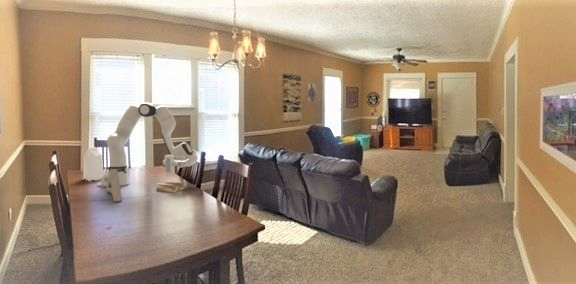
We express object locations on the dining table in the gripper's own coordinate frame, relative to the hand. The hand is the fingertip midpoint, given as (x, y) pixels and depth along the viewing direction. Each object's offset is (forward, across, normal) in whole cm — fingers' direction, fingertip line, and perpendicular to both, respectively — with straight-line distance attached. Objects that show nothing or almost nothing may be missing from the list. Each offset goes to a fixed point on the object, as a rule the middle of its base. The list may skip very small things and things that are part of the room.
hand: (168, 164), depth 286 cm
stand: (-1, 0, +18) cm, 18 cm away
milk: (-8, -83, +18) cm, 85 cm away
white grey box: (-1, 0, +8) cm, 9 cm away
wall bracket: (+30, -21, +19) cm, 42 cm away
